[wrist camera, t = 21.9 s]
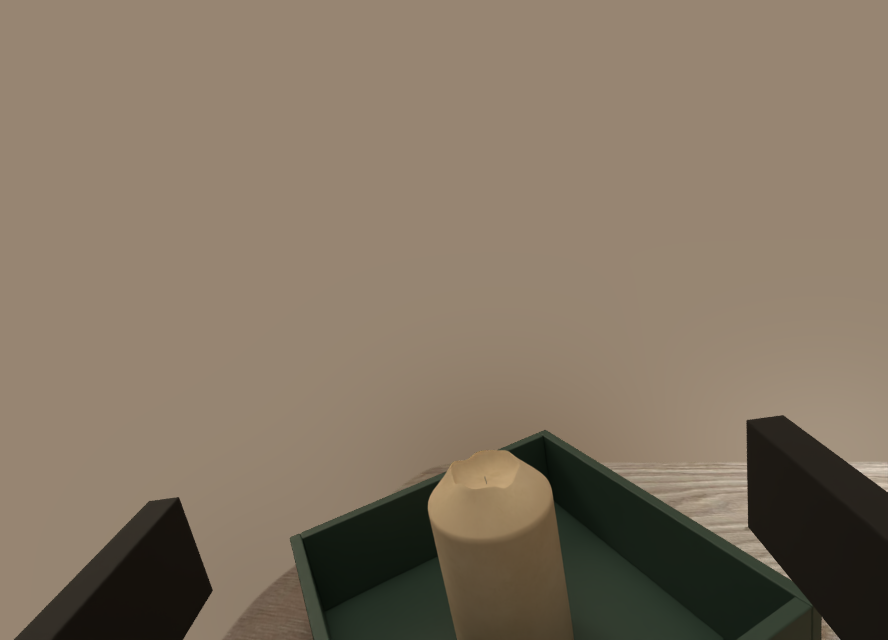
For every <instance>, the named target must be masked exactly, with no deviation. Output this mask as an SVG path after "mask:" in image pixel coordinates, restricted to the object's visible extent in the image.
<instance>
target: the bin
mask: <svg viewBox="0 0 888 640" xmlns="http://www.w3.org/2000/svg"><path fill="white" fill-rule="evenodd" d="M499 450H506V451H509V452H510V453H511V454H513V455H514V456H515V457H517V458H518V459H520V460H522V461H523V462H525V463H526V464H528V465H530V466H531V467H533V468H535V469H536V470H538V471H539V472H540V473H542V474H543V475H544V476H545V477H546V478H547V480H548V481H549V483H550V485H551V489H552V494H553V500H554V507H555V514H556V520H557V527H558V534H559V540H560V547H561V554H562V560H563V567H564V574H565V580H566V587H567V594H568V601H569V607H570V614H571V621H572V628H573V636H574V640H821V620H822V616H821V615H820V614H819V613H818V611H817V610H816V609H815V608H814V606H813V605H812V604H811V603H810V602H809V600H808V599H807V598H806V597H805V595H804V594H803V593H802V592H801V591H800V589H799V588H798V587H797V586H796V585H795V583H794V582H793V581H791V580H790V579H788V578H786V577H785V576H783V575H782V574H780V573H778V572H777V571H775V570H773V569H772V568H770V567H769V566H767V565H765V564H764V563H762V562H760V561H759V560H757V559H755V558H754V557H752V556H751V555H749V554H747V553H746V552H744V551H742V550H741V549H739V548H738V547H736V546H734V545H733V544H731V543H729V542H728V541H726V540H724V539H723V538H721V537H720V536H718V535H716V534H715V533H713V532H711V531H710V530H708V529H706V528H705V527H703V526H702V525H700V524H698V523H697V522H695V521H693V520H692V519H690V518H689V517H687V516H685V515H684V514H682V513H680V512H679V511H677V510H675V509H674V508H672V507H671V506H669V505H667V504H666V503H664V502H662V501H661V500H659V499H658V498H656V497H654V496H653V495H651V494H649V493H648V492H646V491H644V490H643V489H641V488H640V487H638V486H636V485H635V484H633V483H631V482H630V481H628V480H626V479H625V478H623V477H622V476H620V475H618V474H617V473H615V472H613V471H612V470H610V469H609V468H607V467H605V466H604V465H602V464H600V463H599V462H597V461H595V460H594V459H592V458H591V457H589V456H587V455H586V454H584V453H582V452H581V451H579V450H578V449H576V448H574V447H573V446H571V445H569V444H568V443H566V442H564V441H563V440H561V439H560V438H558V437H556V436H555V435H553V434H551V433H550V432H548V431H546V430H544V431H541V432H539V433H536V434H534V435H532V436H529V437H527V438H525V439H522V440H520V441H517V442H515V443H513V444H510V445H508V446H506V447H503V448H501V449H499ZM446 472H447V471H446ZM446 472H444V473H442V474H439V475H437V476H435V477H432V478H430V479H427V480H425V481H423V482H420V483H418V484H416V485H413V486H411V487H408V488H406V489H404V490H401V491H399V492H397V493H394V494H392V495H390V496H387V497H385V498H382V499H380V500H378V501H376V502H373V503H371V504H368V505H366V506H363V507H361V508H359V509H356V510H354V511H352V512H349V513H347V514H345V515H343V516H340V517H337V518H335V519H333V520H330V521H328V522H326V523H323V524H321V525H318V526H316V527H314V528H311V529H309V530H307V531H304V532H302V533H301V534H297V535H295V536H292V537H291V538H290V542H291V546H292V550H293V554H294V559H295V563H296V567H297V572H298V576H299V580H300V584H301V588H302V593H303V597H304V601H305V605H306V610H307V614H308V618H309V622H310V627H311V631H312V635H313V639H314V640H457V637H456V633H455V628H454V624H453V619H452V615H451V611H450V606H449V602H448V597H447V593H446V588H445V584H444V580H443V575H442V571H441V566H440V562H439V558H438V553H437V549H436V544H435V540H434V535H433V531H432V527H431V522H430V518H429V513H428V501H429V498H430V495H431V494H432V492H433V490H434V489H435V488H436V486H437V485H438V484H439V482H440V481H441V480H442V478H443V477H444V475H445V474H446Z"/></svg>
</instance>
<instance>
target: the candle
mask: <svg viewBox="0 0 888 640" xmlns="http://www.w3.org/2000/svg"><path fill="white" fill-rule="evenodd" d="M428 513H429V518H430V522H431V527H432V531H433V535H434V540H435V544H436V549H437V553H438V558H439V562H440V566H441V571H442V575H443V580H444V584H445V588H446V593H447V597H448V602H449V606H450V611H451V615H452V619H453V624H454V628H455V633H456V637H457V640H574V636H573V628H572V621H571V614H570V607H569V601H568V594H567V587H566V580H565V574H564V567H563V560H562V554H561V547H560V540H559V534H558V527H557V520H556V514H555V507H554V500H553V494H552V489H551V485H550V483H549V481H548V480H547V478H546V477H545V476H544V475H543V474H542V473H540V472H539V471H538V470H536V469H535V468H533V467H531V466H530V465H528V464H526V463H525V462H523V461H522V460H520V459H518V458H517V457H515V456H514V455H513V454H511V453H510V452H509V451H506V450H484V451H479V452H476V453H475V454H474V455H473V456H471V457H470V458H469V459H467V460H463V461H455V462H453V463H452V464H451V466H450V467H449V469H448V471H447V472H446V474H445V475H444V477H443V478H442V480H441V481H440V482H439V484H438V485H437V486H436V488H435V489H434V490H433V492H432V494H431V495H430V498H429V501H428Z"/></svg>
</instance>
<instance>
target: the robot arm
mask: <svg viewBox="0 0 888 640" xmlns="http://www.w3.org/2000/svg"><path fill="white" fill-rule="evenodd" d="M747 481H748V527H749V528H750V530H751V531H752V532H753V533H754V535H755V536H756V537H757V538H758V539H759V541H760V542H761V543H762V544H763V545H764V547H765V548H766V549H767V550H768V552H769V553H770V554H771V555H772V556H773V558H774V559H775V560H776V561H777V563H778V564H779V565H780V566H781V567H782V569H783V570H784V571H785V572H786V574H787V575H788V576H789V577H790V578H791V580H792V581H793V582H794V583H795V585H796V586H797V587H798V588H799V589H800V591H801V592H802V593H803V594H804V595H805V597H806V598H807V599H808V600H809V602H810V603H811V604H812V605H813V606H814V608H815V609H816V610H817V611H818V613H819V614H820V615H821V616H822V617H823V619H824V620H825V621H826V622H827V624H828V625H829V626H830V627H831V628H832V630H833V631H834V632H835V633H836V635H837V636H838V637H839V638H840V639H841V640H888V492H886V491H885V490H884V489H882V488H881V487H880V486H878V485H877V484H876V483H874V482H873V481H872V480H870V479H869V478H867V477H866V476H865V475H863V474H862V473H861V472H859V471H858V470H857V469H855V468H854V467H853V466H851V465H850V464H848V463H847V462H846V461H844V460H843V459H842V458H840V457H839V456H838V455H836V454H835V453H834V452H832V451H831V450H829V449H828V448H827V447H825V446H824V445H823V444H821V443H820V442H819V441H817V440H816V439H815V438H813V437H812V436H810V435H809V434H807V433H806V432H805V431H804V430H802V429H801V428H800V427H798V426H797V425H796V424H794V423H793V422H792V421H790V420H789V419H787V418H786V417H785V416H783V415H782V416H774V417H767V418H760V419H752V420H747ZM212 591H213V590H212V587H211V584H210V581H209V579H208V576H207V573H206V571H205V568H204V565H203V562H202V560H201V557H200V554H199V551H198V549H197V546H196V543H195V540H194V538H193V535H192V532H191V529H190V526H189V524H188V521H187V518H186V516H185V513H184V510H183V507H182V504H181V502H180V499H179V497H177V498H170V499H162V500H155V501H149V502H148V503H147V504H146V505H145V506H144V507H143V508H142V509H141V510H140V511H139V512H138V513H137V514H136V515H135V516H134V517H133V518H132V519H131V520H130V521H129V522H128V523H127V524H126V526H124V527H123V528H122V529H121V530H120V531H119V532H118V533H117V535H116V536H115V537H114V538H113V539H112V540H111V541H110V542H109V543H108V544H107V545H106V546H105V547H104V548H103V549H102V550H101V551H100V552H99V553H98V554H97V555H96V556H95V557H94V558H93V559H92V560H91V561H90V562H89V563H88V564H87V565H86V566H85V567H84V568H83V569H82V571H80V573H78V575H77V576H76V577H75V578H74V579H73V580H72V581H71V582H70V583H69V584H68V585H67V586H66V587H65V588H64V589H63V590H62V591H61V592H60V593H59V594H58V595H57V596H56V597H55V598H54V599H53V600H52V601H51V602H50V603H49V604H48V605H47V606H46V607H45V608H44V610H42V612H41V613H39V614H38V616H37V617H36V618H35V619H34V620H33V621H32V622H31V623H30V624H29V625H28V626H27V627H26V628H25V629H24V630H23V631H22V632H21V633H20V634H19V635H18V636H17V637H16V638H15V639H14V640H183V639H184V637H185V635H186V633H187V632H188V630H189V629H190V627H191V625H192V624H193V622H194V620H195V619H196V617H197V616H198V614H199V612H200V610H201V609H202V607H203V606H204V604H205V602H206V601H207V599H208V597H209V596H210V594H211V593H212Z"/></svg>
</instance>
